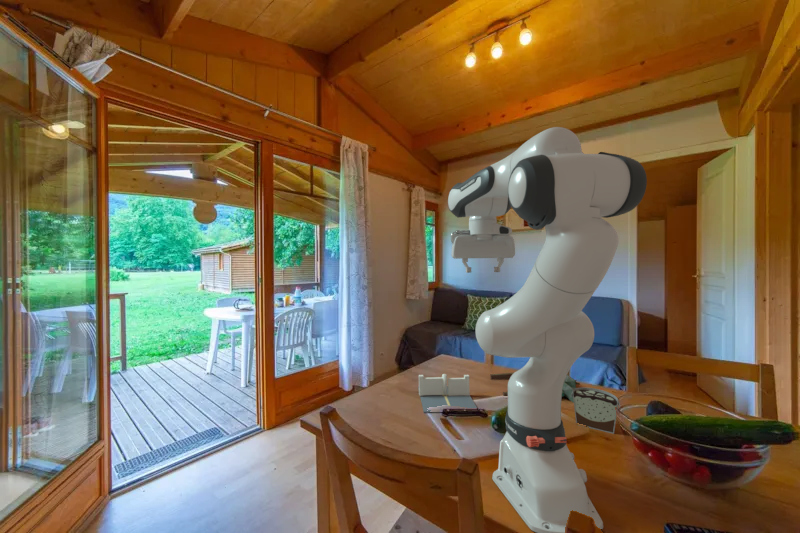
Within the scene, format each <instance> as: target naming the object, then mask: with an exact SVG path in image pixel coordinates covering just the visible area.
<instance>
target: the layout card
mask: <svg viewBox="0 0 800 533" xmlns="http://www.w3.org/2000/svg"><path fill="white" fill-rule="evenodd" d="M417 389H418V390H419V386H418V388H417ZM419 397H420V402H421V407H422V409H423V414H427V413H426V412H430V411H431V410H428V409H427V408H429V407H437V406H442V405H448V406H460V407H465V408H466V407H467V408H478V407H477V405H476V403H475V402H474V400H473V398H472V397H471V395H470V394H469V395H456V396H449V395H448V385H447V395H424V396H419ZM427 410H428V411H427Z"/></svg>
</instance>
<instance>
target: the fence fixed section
mask: <svg viewBox="0 0 800 533" xmlns="http://www.w3.org/2000/svg"><path fill="white" fill-rule="evenodd" d="M447 386H448V395H449V396H456V395H470V375H469V374H463V377H447Z"/></svg>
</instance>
